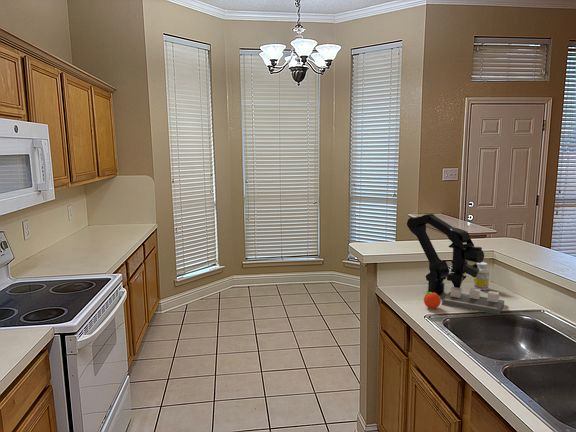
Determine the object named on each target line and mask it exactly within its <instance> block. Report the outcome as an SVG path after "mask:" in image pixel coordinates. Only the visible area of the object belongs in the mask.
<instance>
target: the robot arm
mask: <svg viewBox="0 0 576 432" xmlns="http://www.w3.org/2000/svg"><path fill="white" fill-rule="evenodd" d="M427 224H428V225H430V226H432V227H433V228H435V229H436V230H438V231H440V232H441V233H442V234H444V235H446V236H447V238H448V240H449V241H451V242H452V243H451V244H449V245H448V248H450V249H452V260H451V262H450V263H451V265H452V266H451V269H450V266H449V265H448V264H447V263H448V262H447V261H446V260H445V259H444V260H442V259H440V257H439V256H438V253H437V252H436V250H435V247H434V246H433V245H434V244H432V241H431V240H430V237H429V235H428V234H427ZM406 226H407V228H408V230H409V231H410V232H411V233H412V234H413V235H414V236H416V239H417V240H418V243H419V244H420V246H421V248H422V250H423V252H424V254H425V257H426V258H427V259H426V260H427V261H428V263H429V264H428V270H429V273H428V274H426V275H425V279H426V281H428V284H427V285H428V287H427V291H426V292H434V293H436V294H438V295H439V296H441V295H442V294H443V293H444V292H445V284H446V283H444V281H445V280H446V281H448V282H449V281H450V282H452V285H453V287H457V288H461V287H462V284H463V281H465V279H466V278H467V277H468V276H467V275H465V274H468V275H469V276H471V277H472V278H474V277H476V276H477V274H478V272H479V268H478V265H477V263H481V262H483V261H484V259H485V252H484V251H483V250H482V249H483V247H481V246H475V244H474V242H473V241H472V238H471V236H470V233H469V232H468V231H466V230H464V229H463V228H462V229H461V228H458V227H454V226H452V225H451V224H449V223H447V222H446V221H445V220H442V219H440V218H439V217H438V216H436V215H435V213H434V214H433V213H427V214H425V213H424V215H421V216H414V217H409V218H408V220H407V222H406ZM469 262H474V264H468V263H469Z"/></svg>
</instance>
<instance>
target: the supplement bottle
mask: <svg viewBox="0 0 576 432" xmlns="http://www.w3.org/2000/svg"><path fill="white" fill-rule="evenodd" d="M476 264H477V265H478V268H479V272H478V274H477V276H476V277H473V289H479V290H481V291H487V290H489V286H490V285H489V284H490V283H489V281H490V269H489V268H488V266H489V265H488V263H487V262H483V261H482V262H481V263H477V262H476Z"/></svg>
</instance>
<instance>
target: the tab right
mask: <svg viewBox="0 0 576 432" xmlns="http://www.w3.org/2000/svg"><path fill="white" fill-rule="evenodd" d="M499 297H500V292H498V291H497V292H496V291H490V290H489V291H488V292H487V298H488V299H487V301H491V302H498V301H499V300H500V298H499Z"/></svg>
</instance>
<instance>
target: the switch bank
mask: <svg viewBox="0 0 576 432" xmlns="http://www.w3.org/2000/svg"><path fill="white" fill-rule="evenodd" d="M450 295H451V291H449V292H448V293H447V294H446V295H445V296H444V297H443V298H442V300H441V305H444V306H449V307H454V308H459V309H465V310H470V309H472V310H471V311H475V310H478V311H477V312H481V311H482V312H481V313H487V314H492V315H496V316H497V315H498V316H499V315H500V314H501V312H502V310H503V308H504V306H505V300H502V299H499V301H498V302H491V301H487V299H488V297H486V296H480V298H479V299H473V298H469V293H467V294H466V293H463V292H461V297H460V298H458V297H452V296H450Z"/></svg>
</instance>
